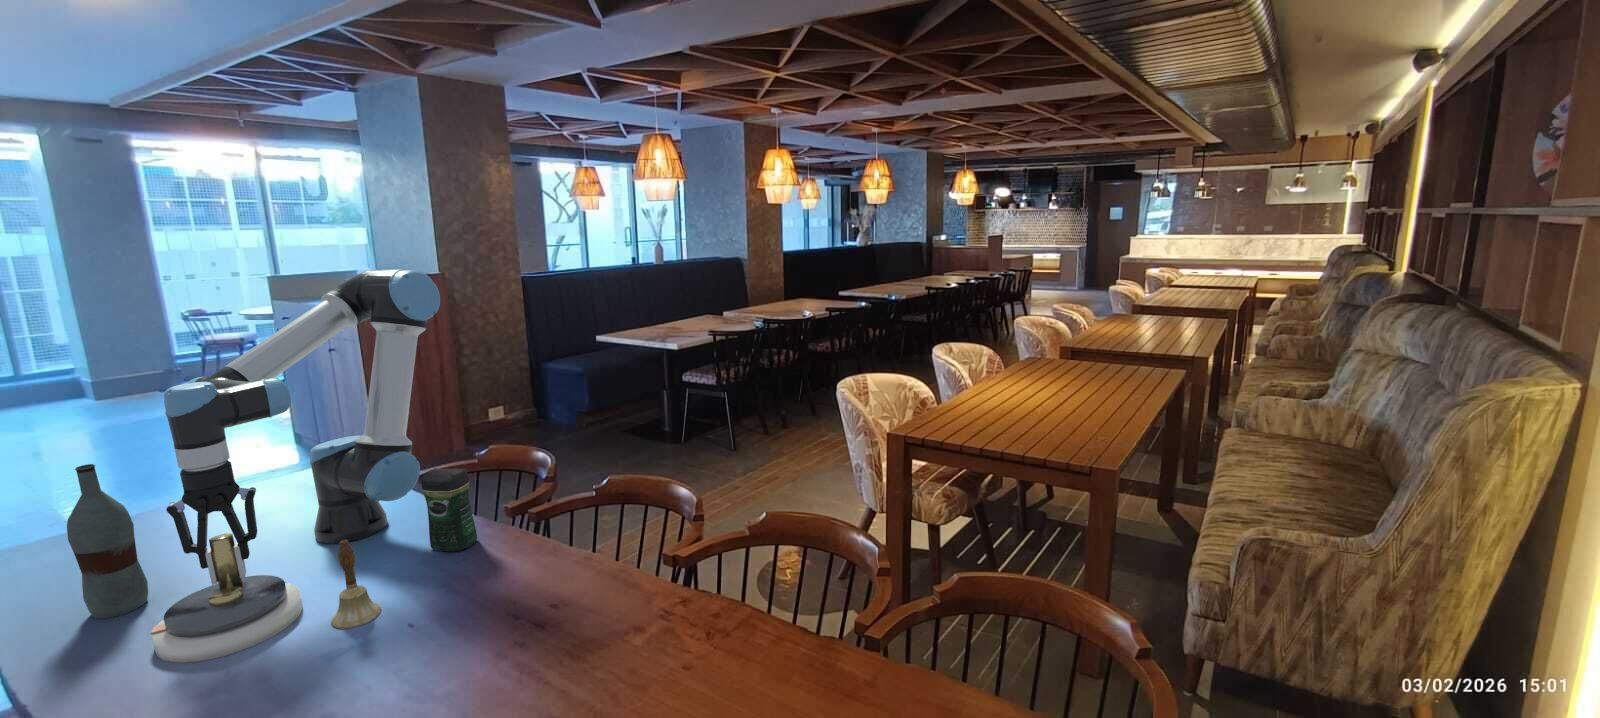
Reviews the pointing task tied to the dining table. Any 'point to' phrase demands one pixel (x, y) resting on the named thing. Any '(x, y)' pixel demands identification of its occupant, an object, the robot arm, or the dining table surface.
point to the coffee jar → (449, 509)
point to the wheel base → (227, 634)
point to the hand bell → (352, 595)
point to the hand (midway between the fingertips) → (229, 577)
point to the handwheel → (225, 597)
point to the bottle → (105, 550)
